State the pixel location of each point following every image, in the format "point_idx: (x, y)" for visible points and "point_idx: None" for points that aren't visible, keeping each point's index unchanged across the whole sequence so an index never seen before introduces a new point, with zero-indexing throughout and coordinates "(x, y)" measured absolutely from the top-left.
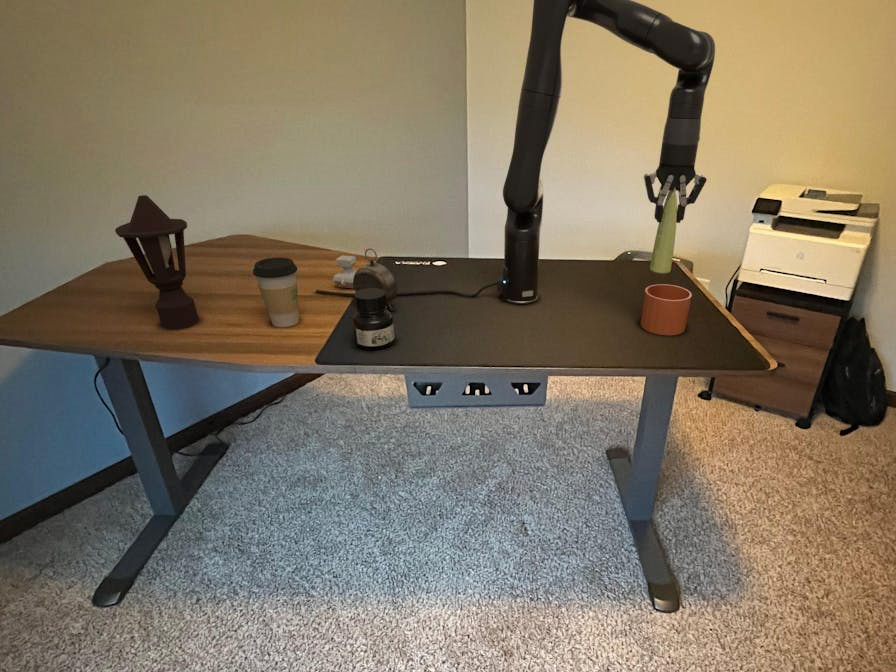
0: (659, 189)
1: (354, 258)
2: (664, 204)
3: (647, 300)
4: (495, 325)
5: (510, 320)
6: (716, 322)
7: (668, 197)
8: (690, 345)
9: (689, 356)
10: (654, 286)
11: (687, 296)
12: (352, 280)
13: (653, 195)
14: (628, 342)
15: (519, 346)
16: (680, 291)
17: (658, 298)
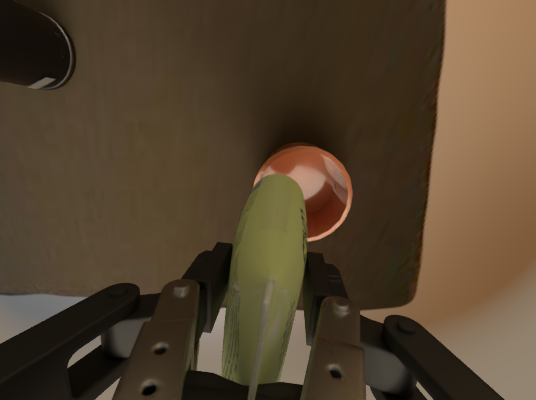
0: (141, 328)
1: None
2: (231, 278)
3: None
4: (29, 181)
5: (47, 161)
6: (405, 162)
7: (233, 334)
8: (322, 249)
9: None
10: (281, 155)
11: (345, 190)
12: None
13: (107, 381)
14: (230, 239)
15: (77, 250)
16: (338, 168)
17: None
